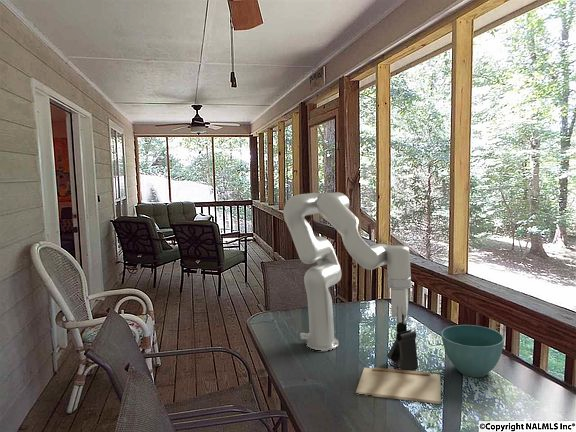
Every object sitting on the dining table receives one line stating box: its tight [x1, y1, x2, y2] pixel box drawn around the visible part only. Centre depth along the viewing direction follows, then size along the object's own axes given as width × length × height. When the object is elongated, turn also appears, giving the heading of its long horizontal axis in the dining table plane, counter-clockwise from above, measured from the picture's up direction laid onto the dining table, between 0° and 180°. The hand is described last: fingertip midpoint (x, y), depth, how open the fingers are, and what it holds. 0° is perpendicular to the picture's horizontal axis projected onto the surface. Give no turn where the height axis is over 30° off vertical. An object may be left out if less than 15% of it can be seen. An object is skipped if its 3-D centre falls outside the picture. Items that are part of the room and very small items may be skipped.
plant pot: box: [440, 324, 505, 378], centre depth 131 cm, size 18×18×12 cm
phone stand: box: [386, 328, 419, 371], centre depth 137 cm, size 9×6×12 cm, turn 24°
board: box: [355, 366, 442, 405], centre depth 126 cm, size 24×16×1 cm, turn 71°
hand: (401, 334), depth 139 cm, fingers closed
